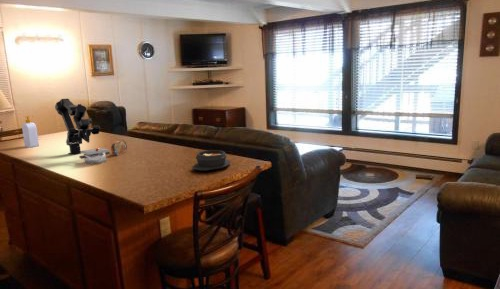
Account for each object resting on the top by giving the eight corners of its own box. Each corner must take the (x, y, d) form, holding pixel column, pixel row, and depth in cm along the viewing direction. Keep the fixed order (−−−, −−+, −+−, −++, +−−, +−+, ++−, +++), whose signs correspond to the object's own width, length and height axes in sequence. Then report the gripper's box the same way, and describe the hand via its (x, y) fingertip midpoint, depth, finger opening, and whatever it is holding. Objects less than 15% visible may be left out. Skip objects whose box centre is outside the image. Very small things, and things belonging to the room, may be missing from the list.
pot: (77, 162, 226) (76, 154, 225) (105, 157, 237) (104, 150, 236) (84, 166, 217) (83, 157, 216) (113, 160, 228) (112, 152, 227)
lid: (80, 153, 226) (80, 148, 226) (100, 149, 234) (100, 145, 234) (88, 154, 217) (88, 150, 216) (109, 151, 225) (108, 147, 224)
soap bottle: (40, 145, 283) (36, 115, 278) (30, 147, 277) (26, 116, 273) (34, 144, 288) (30, 115, 283) (24, 146, 282) (20, 116, 278)
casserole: (210, 175, 190) (209, 159, 189) (183, 171, 200) (182, 155, 199) (238, 164, 211) (238, 150, 209) (212, 161, 221) (212, 147, 219)
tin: (115, 156, 240) (114, 143, 238) (111, 156, 241) (109, 143, 239) (127, 151, 254) (126, 139, 253) (123, 151, 255) (122, 139, 253)
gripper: (66, 115, 225) (74, 136, 219) (97, 112, 237) (106, 132, 231) (63, 127, 232) (71, 147, 226) (94, 124, 244) (102, 142, 239)
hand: (88, 142), depth 231 cm, fingers closed
